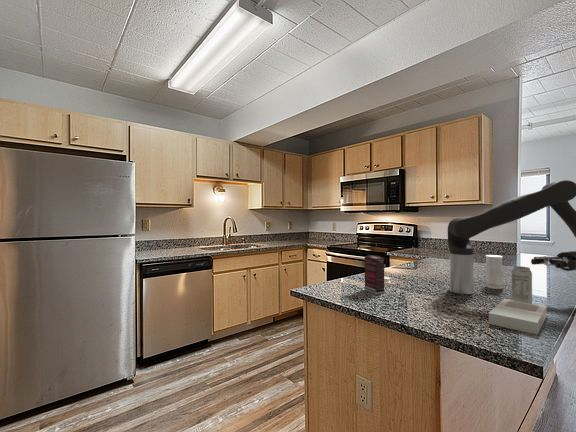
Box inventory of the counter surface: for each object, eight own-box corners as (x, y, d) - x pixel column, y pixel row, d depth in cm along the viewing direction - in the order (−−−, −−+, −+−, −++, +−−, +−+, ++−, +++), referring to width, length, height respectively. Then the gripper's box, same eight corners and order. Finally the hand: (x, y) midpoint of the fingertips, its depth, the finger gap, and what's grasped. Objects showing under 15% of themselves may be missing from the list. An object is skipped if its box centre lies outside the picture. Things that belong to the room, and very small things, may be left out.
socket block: (488, 323, 95) (488, 312, 94) (504, 308, 110) (504, 298, 110) (537, 334, 86) (537, 322, 86) (546, 316, 101) (546, 306, 101)
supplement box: (385, 293, 131) (384, 257, 131) (376, 294, 129) (376, 258, 129) (372, 288, 139) (372, 255, 139) (364, 289, 137) (363, 256, 137)
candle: (481, 286, 143) (481, 255, 143) (493, 285, 144) (493, 254, 144) (494, 289, 136) (494, 257, 136) (506, 288, 138) (506, 256, 138)
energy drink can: (534, 308, 110) (534, 267, 110) (527, 310, 107) (527, 269, 107) (515, 303, 115) (515, 265, 115) (508, 306, 112) (508, 267, 112)
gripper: (553, 249, 125) (524, 251, 120) (596, 253, 111) (565, 256, 107) (553, 267, 125) (525, 269, 120) (596, 273, 111) (565, 276, 107)
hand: (544, 263), depth 114 cm, fingers open, 8 cm apart
